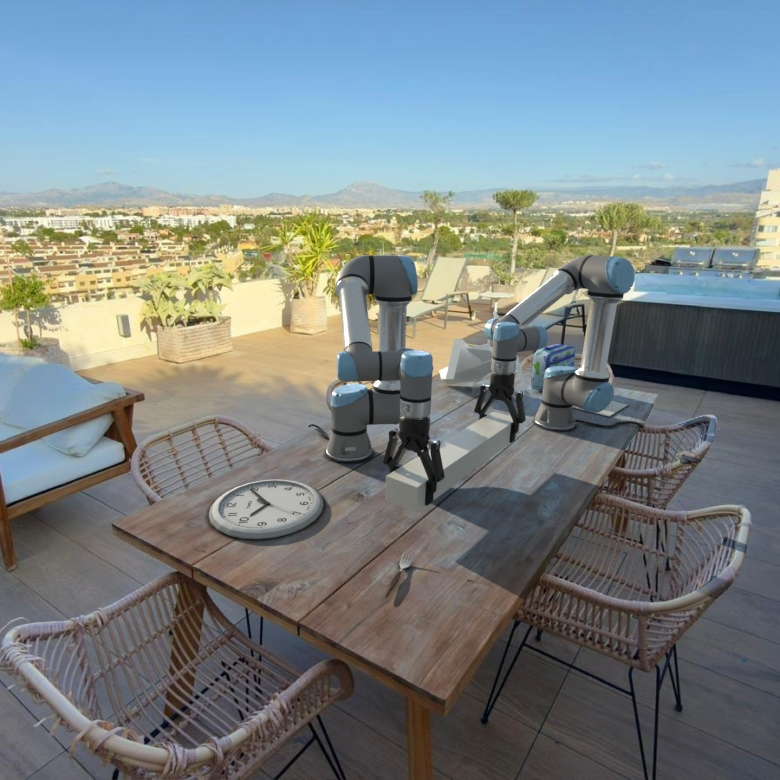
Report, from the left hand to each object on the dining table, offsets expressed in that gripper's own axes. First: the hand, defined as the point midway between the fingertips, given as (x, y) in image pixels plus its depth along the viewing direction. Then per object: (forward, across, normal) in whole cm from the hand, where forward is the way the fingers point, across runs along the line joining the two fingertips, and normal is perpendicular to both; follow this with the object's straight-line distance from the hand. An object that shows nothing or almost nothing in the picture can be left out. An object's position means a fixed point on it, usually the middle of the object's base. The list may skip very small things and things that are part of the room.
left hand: (411, 496), depth 134 cm
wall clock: (+7, -34, -18) cm, 40 cm away
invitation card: (+7, +15, +127) cm, 128 cm away
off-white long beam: (+1, 0, +25) cm, 25 cm away
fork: (+7, +10, -21) cm, 24 cm away
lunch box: (+8, -12, +140) cm, 140 cm away
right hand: (0, +1, +50) cm, 50 cm away
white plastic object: (+8, -36, +112) cm, 118 cm away
